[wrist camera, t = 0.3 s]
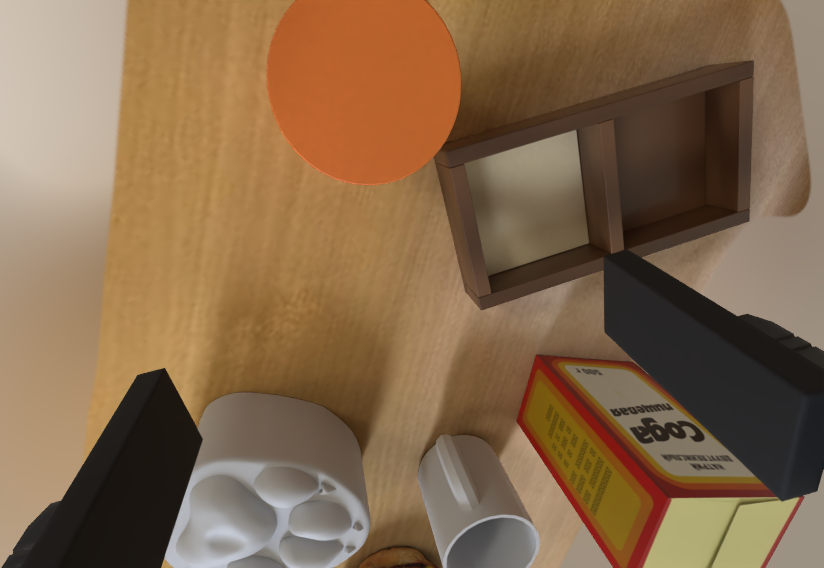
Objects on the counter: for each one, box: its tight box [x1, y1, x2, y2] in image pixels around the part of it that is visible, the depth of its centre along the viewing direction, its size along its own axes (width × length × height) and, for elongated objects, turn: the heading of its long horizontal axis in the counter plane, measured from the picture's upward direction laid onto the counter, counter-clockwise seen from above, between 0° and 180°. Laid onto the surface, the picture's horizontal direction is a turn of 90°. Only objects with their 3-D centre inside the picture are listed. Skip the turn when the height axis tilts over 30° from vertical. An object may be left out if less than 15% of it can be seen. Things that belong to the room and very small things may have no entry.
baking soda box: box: [517, 355, 804, 568], centre depth 34 cm, size 10×6×16 cm
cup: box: [418, 434, 540, 568], centre depth 37 cm, size 7×10×9 cm
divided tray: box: [434, 61, 754, 310], centre depth 33 cm, size 11×21×4 cm, turn 104°
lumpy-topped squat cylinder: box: [164, 392, 370, 568], centre depth 33 cm, size 10×13×9 cm
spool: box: [267, 0, 462, 185], centre depth 24 cm, size 8×8×12 cm
